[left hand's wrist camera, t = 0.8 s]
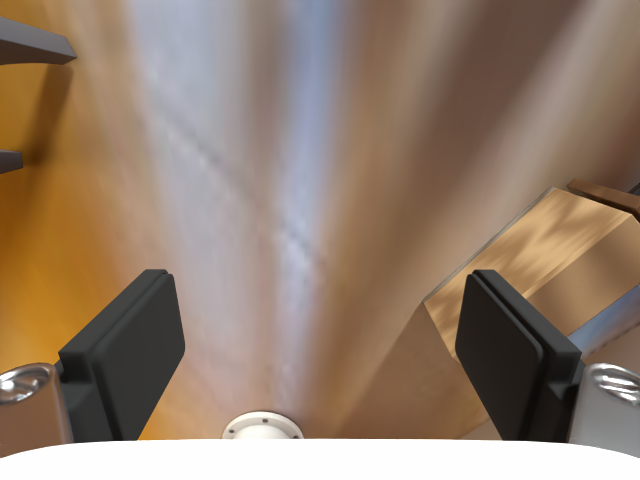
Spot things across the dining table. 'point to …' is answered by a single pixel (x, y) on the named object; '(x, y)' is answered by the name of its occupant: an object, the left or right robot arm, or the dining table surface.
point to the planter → (28, 47)
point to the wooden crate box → (552, 263)
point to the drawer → (609, 196)
